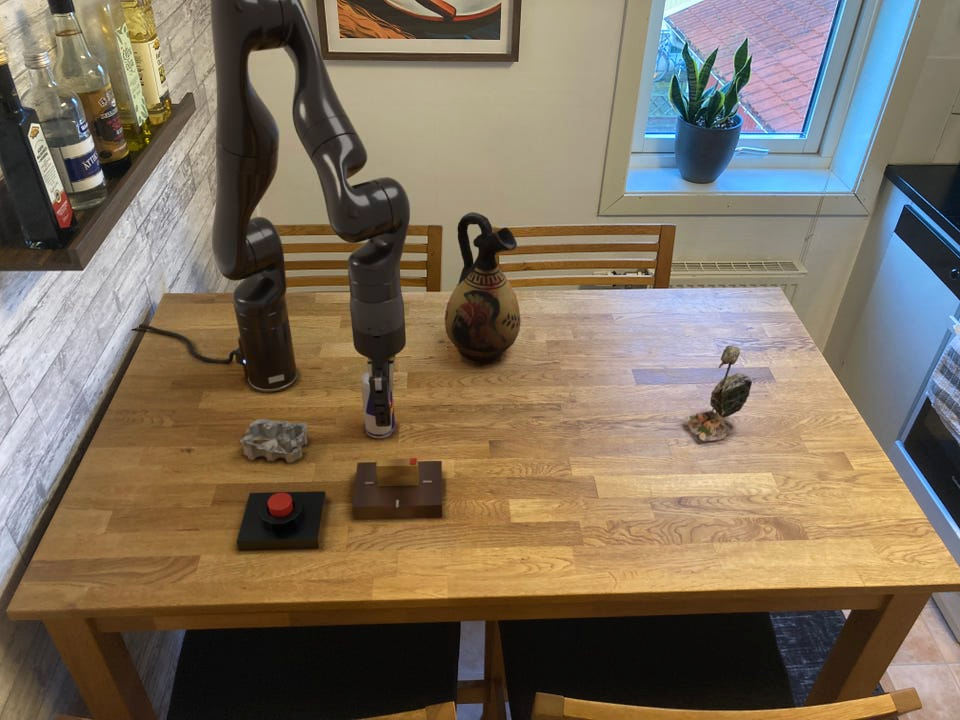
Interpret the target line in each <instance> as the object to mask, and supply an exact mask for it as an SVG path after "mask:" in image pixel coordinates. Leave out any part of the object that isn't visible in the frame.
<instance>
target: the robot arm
mask: <svg viewBox="0 0 960 720" xmlns="http://www.w3.org/2000/svg"><path fill="white" fill-rule="evenodd" d="M209 8H210V24H211V27H210V28H211V37H212V45H213V46H212V47H213V55H214V56H213V57H214V66H215V82H216V84H215V85H216V125H215V126H216V129H215V159H216V197H215V207H214V217H213V222H212V223H213V225H212V233H211V250H212V251H211V252H212V256H213V260H214V264H215V266H216V268H217V270H218V271H219V273H220V274H221V275H222V276H223V277H224V278H225V279H228V280H229V281H233V282H234V281H235V282H237V281H241V282H240V283H239V284H238V285H237V286H236V287H235V288H234V290H233V292H232V304H233V308H234V312H235V318H236V319H235V320H236V323H237V327H238V332H239V333H238V334H239V336H238V338H237V342H238V346H239V347H238V348H236V349H234V350H232V351H230V352H229V355H228V358H227V359H215V358H210V357H207V356H205V355H201V354H199V353H198V352H196V351H195V349H194V346H193V344H192V341H190V339H189V338H187V337H185V336H184V335H182V334H179V333H176V332H174V331H169V330H164V329H161V328H157V327H154V326H151V325H148V324H145V323H143V324H142V323H139V324H140V325H139V328H138V327H137V328H136V329H135V330H137V329H146V330H148V331H152V332H154V333H158V334H161V335H166V336H170V337H174V338H177V339H179V340H181V341H183V342H184V343H186V345H187V347H188V349H189V352H190V354H192V356H194V357H195V358H197V359H199V360H201V361H204V362H207V363H211V364H229V363H231V362H232V361H233V359H234V357H235V362H236V364H238V365H240V366H242V367H243V371H244V376H245V379H247V380H248V385H249V386H250V387H251V388H252V389H254V390H255V391H257V392H262V393H275V392H276V393H277V392H280V391H284V390H286V389H288V388H290V387H292V386H293V385H294V384H295V383H296V381H298V380H297V379H298V376H299V374H298V369H297V364H296V357H295V351H294V345H293V344H294V343H293V338H292V337H293V336H292V331H291V325H290V319H289V313H288V312H289V311H288V306H287V300H286V293H287V288H288V286H287V277H286V265H285V254H284V253H285V252H284V247H283V243H282V238H281V235H280V234H279V232H278V229H277V227H276V226H275V224H274V223H273V222H272V221H271V220H270V219H268V218H266V217H264V216H255V217H252V216H253V213H254V212H255V210H256V208H258V207H257V206H258V205H259V203H260V202H261V201H262V199H263V197H264V195H265V194H266V192H267V191H268V189H269V188H270V186H271V185H272V183H273V180H274V178H275V176H276V174H277V170H278V166H279V165H278V163H279V151H280V129H279V127H278V123H277V121H276V119H275V117H274V116H273V114H272V113H271V111H270V110H269V107H267V106H266V104H265V102H264V101H263V99H262V98H261V97H260V95H259V94H258V93H257V91H256V89H255V87H254V86H253V84H252V82H251V78H250V73H249V72H250V71H249V58H250V55H251V53H253V52H262V51H270V50H279V49H283V50H284V51H285V52H286V54H287V55H288V57H289V59H290V61H291V62H292V65H293V68H294V88H293V94H292V95H293V97H292V105H291V107H292V108H291V110H292V112H291V113H292V122H293V127H294V129H295V132H296V134H297V137H298V139H299V141H300V143H301V144H302V147H303V149H304V150H305V152H306V154H307V155H308V158H309V159H310V161H311V163H312V165H313V167H314V169H315V171H316V173H317V176H318V180H319V183H320V187H321V191H322V195H323V198H324V204H325V209H326V214H327V218H328V222H329V224H330V227H331V230H332V231H333V233H335V234H336V236H337V237H339V238H340V239H341V240H342V241H344V242H346V243H349V244H357V243H362V242H364V243H363V244H362V245H360V246H359V247H358V248H356V249H354V250H353V251H351V253H350V255H349V256H348V258H347V277H348V286H349V295H350V296H349V312H350V321H351V322H350V323H351V332H352V341H353V347H354V350H355V351H356V352H357V353H358V354H360V355H361V356H363V357H366V358H368V360H367V361H366V371H368V373H369V390H370V395H371V410H372V413H375V419H376V425H377V426H378V427H386V426H390V425H391V414H390V405H391V402H390V392H391V391H393V392H394V373H395V369H396V367H395V366H396V355H398V354H399V353H401V352H402V351H403V350H404V348H405V346H406V343H407V337H406V336H407V335H406V320H405V303H404V298H403V294H402V293H403V292H402V283H401V281H402V280H401V259H402V256H403V253H404V247H405V243H406V239H407V234H408V230H409V225H410V219H411V205H410V204H411V203H410V199H409V197H408V194H407V192H406V189H405V188H404V186H403V185H402V184H401V183H400V181H398V180H396V179H394V178H393V177H388V176H385V177H379V178H374V179H371V180H368V181H363V182H361V183H357V184H353V185H351V184H350V183H349V181H348V180H349V179H350V178H352V177H353V176H355V175H356V174H358V173H359V172H361V170H363V168H364V167H365V166H366V164H367V161H368V152H367V149H366V147H365V144H364V142H363V141H362V140H361V139H362V138H361V137H360V136H359V134H358V132H357V130H356V128H355V126H354V125H353V122H352V121H351V119H350V118H349V116H348V114H347V112H346V110H345V109H344V106H343V105H342V102H341V101H340V99H339V96H338V94H337V92H336V90H335V87H334V85H333V83H332V80H331V78H330V75H329V71H328V68H327V66H326V64H325V61H324V57H323V55H322V52H321V50H320V47H319V44H318V42H317V38H316V37H315V36H316V35H315V34H314V30H313V28H312V26H311V23H310V20H309V17H308V15H307V12H306V9H305V7H304V5H303V3H302V0H210V7H209ZM365 241H366V242H365Z"/></svg>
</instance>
